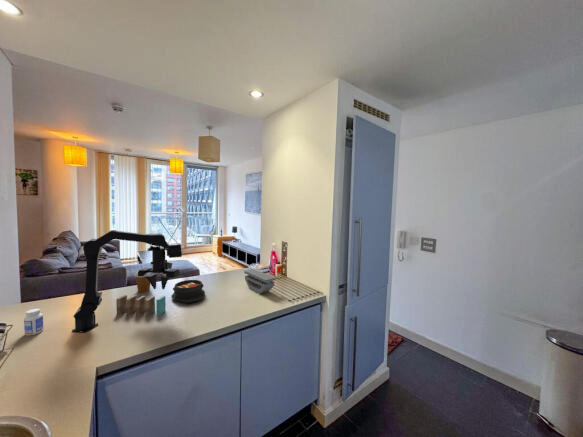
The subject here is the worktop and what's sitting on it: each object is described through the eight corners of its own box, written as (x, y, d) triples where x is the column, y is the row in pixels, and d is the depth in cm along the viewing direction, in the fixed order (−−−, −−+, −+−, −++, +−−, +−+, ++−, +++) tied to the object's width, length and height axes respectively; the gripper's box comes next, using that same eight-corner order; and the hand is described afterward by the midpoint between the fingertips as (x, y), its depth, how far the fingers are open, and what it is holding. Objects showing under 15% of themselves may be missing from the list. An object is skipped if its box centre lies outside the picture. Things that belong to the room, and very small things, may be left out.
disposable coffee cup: (144, 293, 142) (143, 274, 141) (131, 292, 144) (130, 273, 143) (155, 288, 152) (155, 270, 151) (143, 287, 153) (143, 269, 153)
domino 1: (119, 314, 116) (119, 299, 115) (116, 314, 116) (116, 298, 116) (127, 309, 121) (127, 295, 120) (124, 309, 121) (124, 294, 121)
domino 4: (148, 315, 115) (148, 300, 115) (145, 315, 115) (145, 300, 115) (154, 311, 120) (154, 296, 120) (152, 311, 120) (151, 296, 120)
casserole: (211, 300, 135) (211, 286, 135) (176, 308, 124) (176, 293, 123) (198, 287, 155) (198, 275, 154) (167, 294, 143) (167, 280, 143)
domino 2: (129, 314, 116) (129, 299, 115) (126, 314, 116) (125, 299, 115) (136, 310, 121) (136, 295, 120) (133, 310, 121) (133, 295, 120)
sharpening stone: (244, 286, 160) (244, 270, 159) (253, 283, 165) (253, 268, 165) (265, 297, 142) (265, 280, 141) (275, 294, 147) (275, 277, 146)
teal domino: (159, 315, 116) (159, 299, 116) (156, 315, 116) (156, 299, 116) (165, 310, 121) (165, 295, 121) (162, 310, 121) (162, 295, 121)
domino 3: (138, 315, 116) (138, 299, 115) (135, 315, 116) (135, 299, 115) (145, 310, 120) (145, 295, 120) (142, 310, 121) (142, 295, 120)
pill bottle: (43, 327, 102) (42, 306, 102) (44, 332, 99) (43, 310, 98) (24, 332, 98) (23, 310, 98) (24, 337, 95) (23, 314, 94)
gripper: (185, 255, 123) (185, 284, 124) (151, 254, 124) (151, 282, 125) (173, 261, 112) (173, 292, 113) (136, 259, 113) (137, 290, 114)
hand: (159, 289), depth 117 cm, fingers open, 4 cm apart
